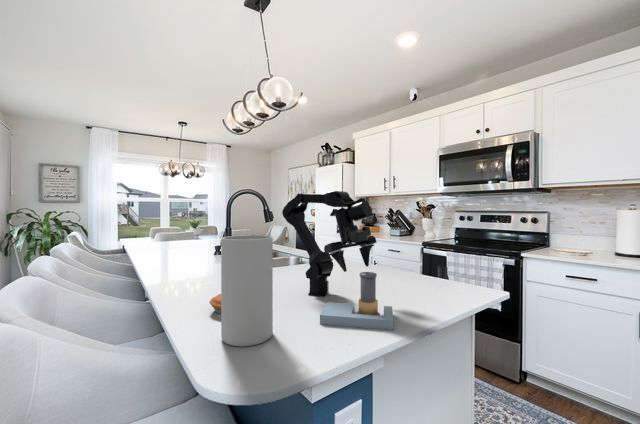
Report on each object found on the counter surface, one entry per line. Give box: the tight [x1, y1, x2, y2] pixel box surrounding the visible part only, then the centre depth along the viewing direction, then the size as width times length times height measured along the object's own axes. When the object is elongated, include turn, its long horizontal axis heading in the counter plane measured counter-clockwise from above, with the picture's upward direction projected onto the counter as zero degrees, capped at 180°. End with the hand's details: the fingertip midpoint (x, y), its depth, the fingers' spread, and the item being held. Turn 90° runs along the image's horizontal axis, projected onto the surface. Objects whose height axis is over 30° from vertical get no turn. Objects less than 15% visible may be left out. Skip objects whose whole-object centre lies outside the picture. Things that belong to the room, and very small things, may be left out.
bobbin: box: [356, 271, 381, 316], centre depth 89 cm, size 7×7×13 cm
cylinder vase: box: [220, 234, 274, 347], centre depth 75 cm, size 12×12×25 cm
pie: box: [209, 293, 221, 316], centre depth 95 cm, size 16×16×5 cm
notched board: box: [319, 301, 394, 331], centre depth 87 cm, size 20×12×2 cm, turn 78°
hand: (356, 269), depth 102 cm, fingers open, 9 cm apart
